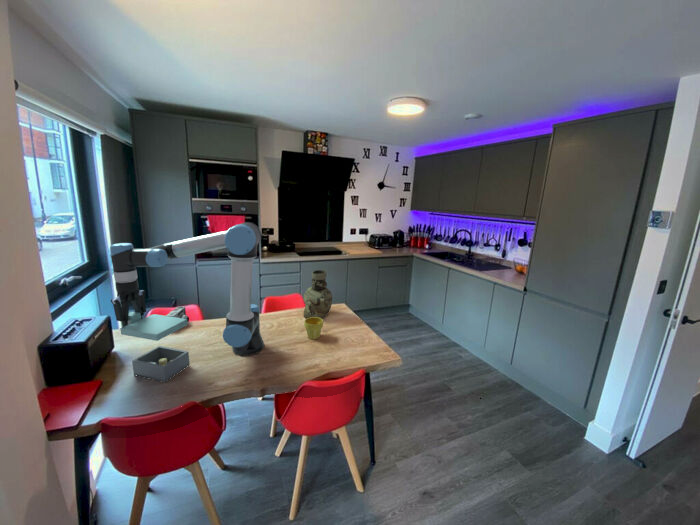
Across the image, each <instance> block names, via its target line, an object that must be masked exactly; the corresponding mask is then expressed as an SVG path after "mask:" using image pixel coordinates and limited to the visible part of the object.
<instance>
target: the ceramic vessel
mask: <svg viewBox="0 0 700 525" xmlns="http://www.w3.org/2000/svg"><path fill="white" fill-rule="evenodd" d="M327 273H328V272H327V271H326V270H325V269H324V270H323V269H322V270H321V269H316V270H313V271H311V285H312V286H310V287H308V288H307V289H306V290H305V292H304V295H303V302H304V303H305V306H304V310H303V313H302V314H303V318H304V319H305V320H306V319H307V318H310V317H318V318H321V319H322V320H324V319H325V318H326V317H327V316H328V315H329V312H330V311H331V309H332V305H333V293H332V291H331V290H329V288H327V286H328V283H327V281H326V279H327Z"/></svg>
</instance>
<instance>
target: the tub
mask: <svg viewBox="0 0 700 525" xmlns="http://www.w3.org/2000/svg"><path fill="white" fill-rule="evenodd" d="M189 355H190V354H189V351H188V350H182V349H179V348H173V347H167V346H161V345H158V346H156V347H155V348H153V349H151V350H149V351H147V352H145V353H143V354H142V355H139V356H138V357H136V358H135V359H132V360H131V362H132V363H131V364H132V371H133V372H132V373H133V376H134V375H137V376H136V377H138V376H140V377H139V378H142V377H145V378H144V379H147V378H150V379H149V380H151V379H154V380H153V381H155V380H157V381H156V382H160V381H162V382H161V383H164V382H165V383H167V382H168V381H170V380H171V379H172V377H173V376H174V375H175V376H176V374H177V373H178V374H179V372H180V371H181V370H182V371H184V370H185V369H187V368H188V367H190V366H189V365H191V364H190V356H189ZM187 366H188V367H187ZM186 367H187V368H186ZM184 368H185V369H184ZM183 369H184V370H183ZM182 371H181V372H182ZM181 372H180V373H181ZM178 374H177V375H178ZM175 376H174V377H175ZM174 377H173V378H174ZM170 378H171V379H170ZM169 379H170V380H169ZM167 380H168V381H167ZM166 381H167V382H166Z"/></svg>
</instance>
